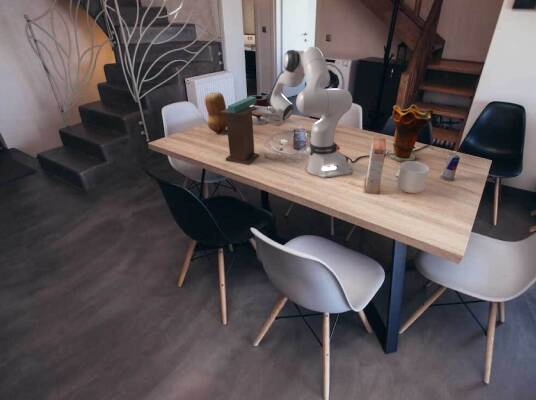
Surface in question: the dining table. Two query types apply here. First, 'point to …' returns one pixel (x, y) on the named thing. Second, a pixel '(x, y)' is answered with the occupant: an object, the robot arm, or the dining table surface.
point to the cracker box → (375, 165)
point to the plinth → (240, 135)
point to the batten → (241, 104)
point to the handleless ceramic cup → (412, 176)
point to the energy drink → (450, 166)
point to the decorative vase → (407, 131)
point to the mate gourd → (264, 103)
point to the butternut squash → (216, 112)
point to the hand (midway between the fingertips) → (260, 107)
